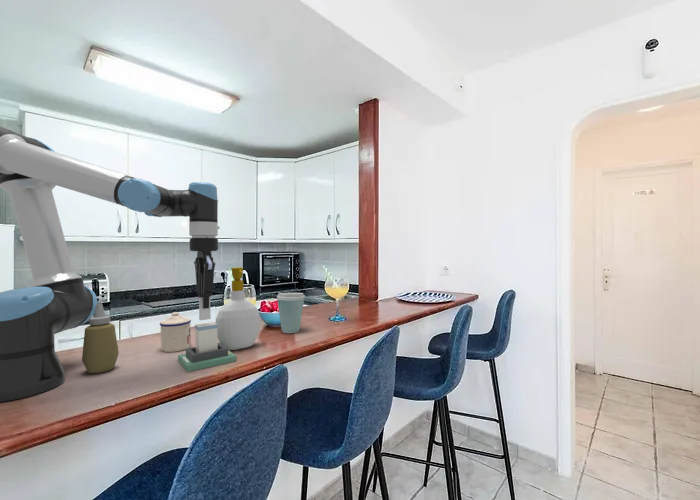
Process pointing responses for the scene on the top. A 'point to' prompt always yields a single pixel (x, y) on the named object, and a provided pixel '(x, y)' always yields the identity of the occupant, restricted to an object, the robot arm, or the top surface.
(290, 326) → the disposable coffee cup
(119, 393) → the top surface
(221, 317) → the white round bottle
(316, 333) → the top surface
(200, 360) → the header board
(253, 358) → the top surface
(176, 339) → the teacup with lid
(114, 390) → the top surface
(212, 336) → the plug
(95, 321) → the squeeze bottle
